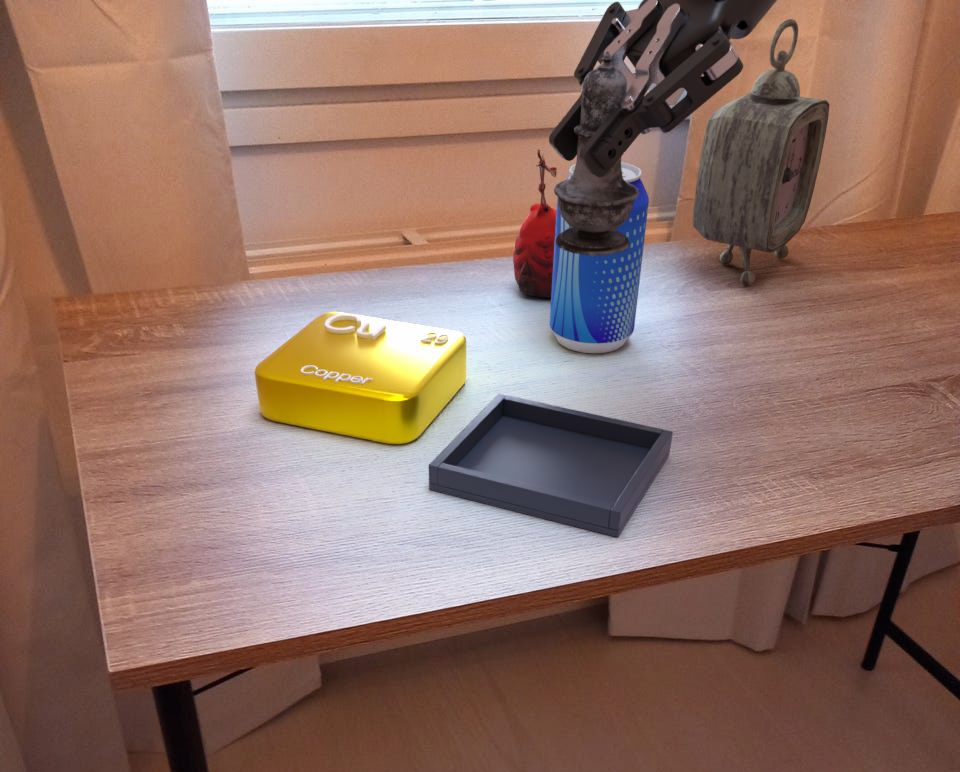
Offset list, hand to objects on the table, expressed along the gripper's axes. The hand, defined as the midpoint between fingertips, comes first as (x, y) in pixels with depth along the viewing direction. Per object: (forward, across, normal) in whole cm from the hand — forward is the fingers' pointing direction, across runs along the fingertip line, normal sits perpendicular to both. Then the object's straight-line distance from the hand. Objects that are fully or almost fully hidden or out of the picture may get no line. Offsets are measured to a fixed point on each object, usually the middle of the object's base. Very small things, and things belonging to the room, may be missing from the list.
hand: (574, 158), depth 68 cm
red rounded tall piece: (+4, -34, +29) cm, 45 cm away
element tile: (+23, -18, +10) cm, 31 cm away
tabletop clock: (-13, -31, +46) cm, 57 cm away
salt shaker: (+3, 0, +6) cm, 6 cm away
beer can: (+6, -20, +28) cm, 35 cm away
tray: (+17, +1, +16) cm, 23 cm away
